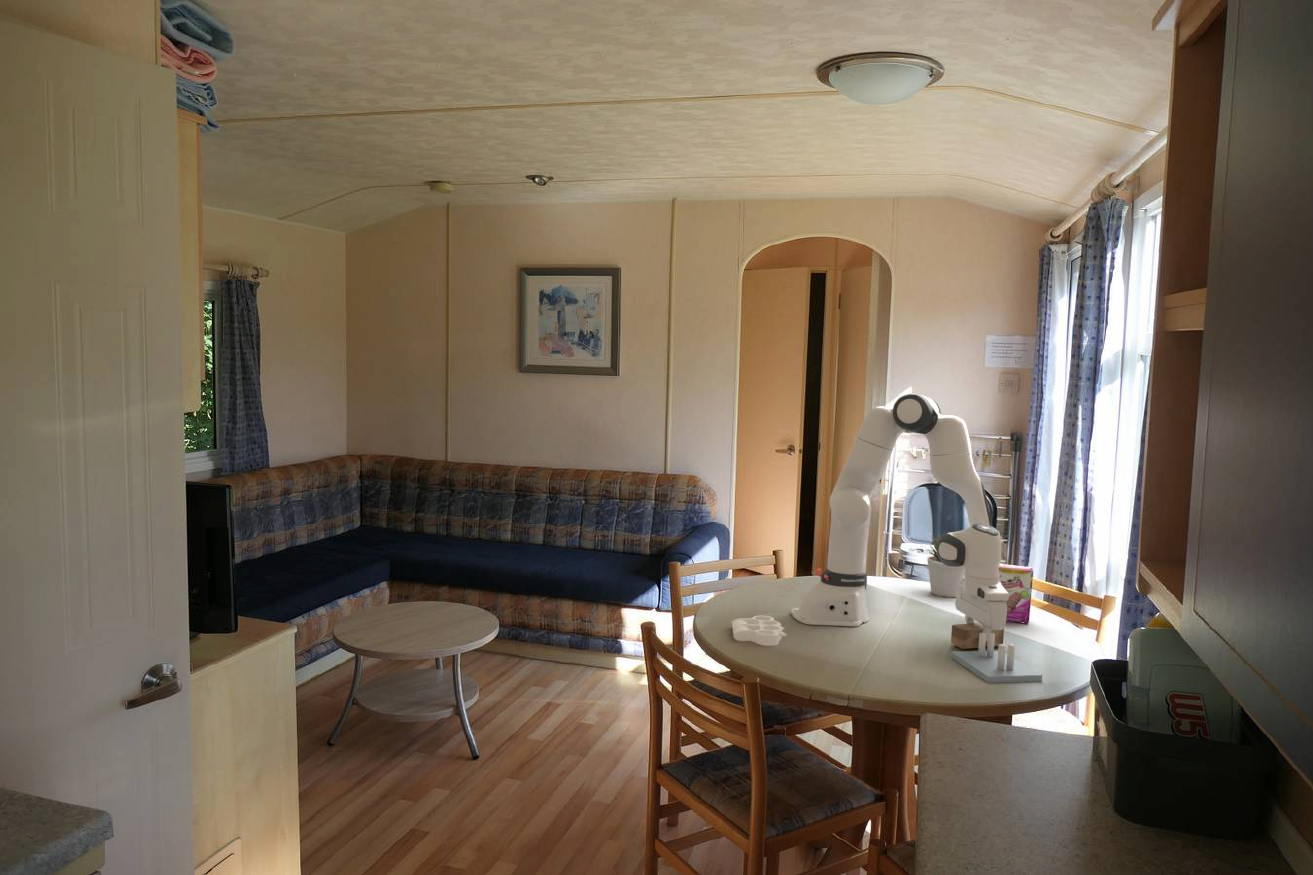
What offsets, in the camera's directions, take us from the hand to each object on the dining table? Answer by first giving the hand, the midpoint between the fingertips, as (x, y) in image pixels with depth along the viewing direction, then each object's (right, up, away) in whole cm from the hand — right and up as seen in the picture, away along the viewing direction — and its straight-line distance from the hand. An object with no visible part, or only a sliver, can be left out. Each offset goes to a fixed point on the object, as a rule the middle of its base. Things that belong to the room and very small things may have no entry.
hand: (977, 636), depth 234 cm
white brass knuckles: (-58, -1, +4) cm, 58 cm away
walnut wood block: (0, -2, 0) cm, 2 cm away
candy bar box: (+19, -1, +27) cm, 33 cm away
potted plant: (+10, +1, +55) cm, 56 cm away
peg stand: (-2, -4, -17) cm, 18 cm away
